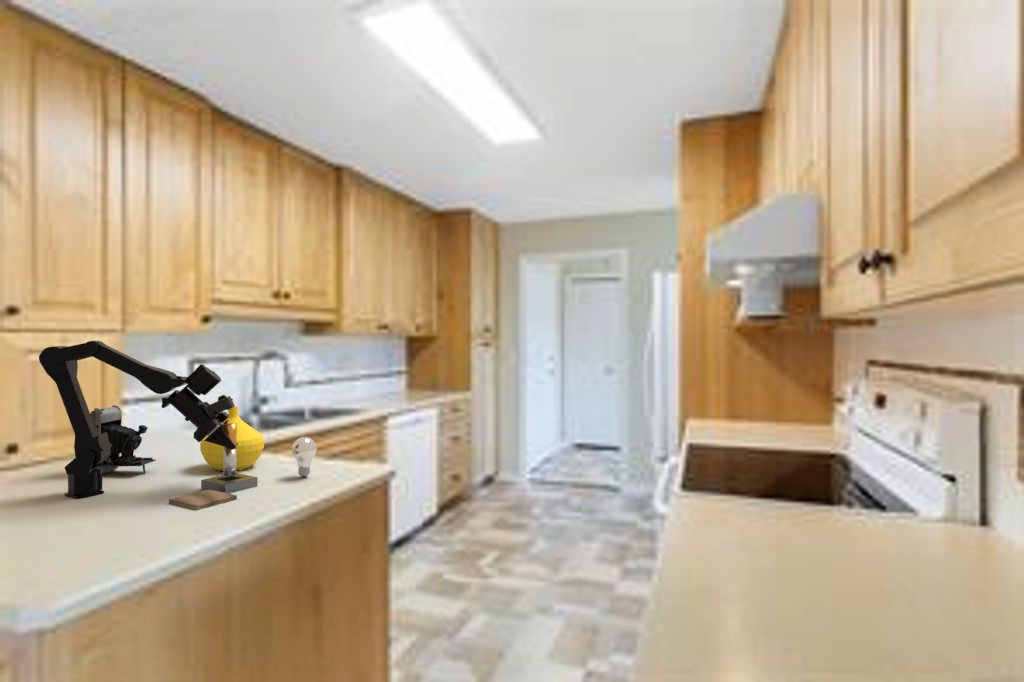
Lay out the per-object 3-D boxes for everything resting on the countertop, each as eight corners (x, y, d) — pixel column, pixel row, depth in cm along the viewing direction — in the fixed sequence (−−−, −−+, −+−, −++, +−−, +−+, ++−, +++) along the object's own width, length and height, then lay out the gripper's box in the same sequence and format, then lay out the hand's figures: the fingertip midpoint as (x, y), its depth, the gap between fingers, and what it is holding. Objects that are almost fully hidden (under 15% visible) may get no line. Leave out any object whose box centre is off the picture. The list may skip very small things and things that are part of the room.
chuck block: (225, 494, 159) (225, 484, 159) (201, 489, 164) (201, 479, 164) (257, 486, 168) (257, 477, 168) (233, 481, 173) (233, 472, 172)
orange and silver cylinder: (228, 476, 164) (229, 425, 163) (220, 475, 165) (221, 424, 165) (238, 474, 166) (239, 423, 166) (231, 472, 168) (231, 422, 168)
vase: (193, 475, 178) (194, 411, 178) (207, 462, 196) (207, 404, 195) (260, 473, 183) (260, 410, 183) (267, 460, 201) (268, 403, 200)
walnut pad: (196, 510, 145) (196, 505, 145) (168, 503, 150) (168, 499, 150) (236, 499, 155) (236, 495, 155) (209, 493, 160) (209, 489, 160)
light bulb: (320, 474, 182) (320, 435, 182) (310, 480, 175) (310, 439, 175) (298, 474, 183) (298, 434, 182) (287, 479, 176) (287, 438, 175)
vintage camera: (137, 480, 174) (141, 411, 174) (84, 476, 174) (88, 408, 174) (157, 472, 184) (161, 407, 184) (107, 469, 184) (111, 404, 184)
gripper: (208, 389, 155) (253, 431, 158) (221, 383, 173) (262, 420, 176) (173, 420, 153) (220, 462, 156) (191, 411, 171) (232, 448, 174)
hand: (235, 446), depth 166 cm, fingers closed on orange and silver cylinder, 3 cm apart
